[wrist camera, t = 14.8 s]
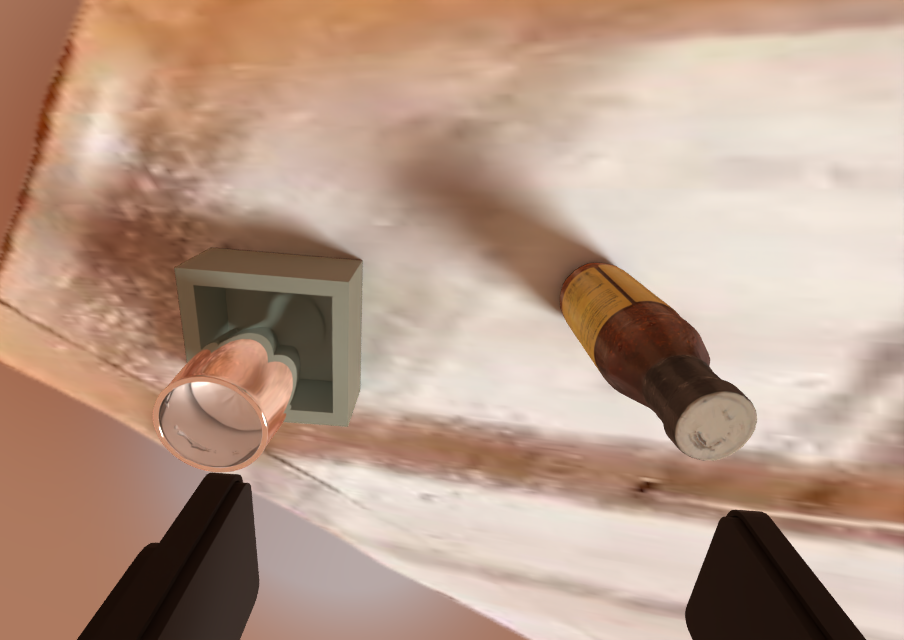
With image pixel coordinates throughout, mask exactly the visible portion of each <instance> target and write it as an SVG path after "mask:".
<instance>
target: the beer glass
mask: <svg viewBox="0 0 904 640" xmlns="http://www.w3.org/2000/svg"><path fill="white" fill-rule="evenodd" d="M324 334H325V324H324V320H323V317H322V315H321V313H320V311H319V310H318V308H317V307H316V306H315V305H314V304H313V303H312V302H311V301H310V300H308V299H307V298H305V297H303V296H301V295H298V294H295V293H283V292H280V293H275V294H272V295H269V296H268V297H266V298H264V299H263V300H262V301H261V302H260V303H259V304H258V305H257V307H256V309H255V310H254V312H253V314H252V317H251V319H250V320H249V321H247V322H246V323H244V324H242V325H240V326H238V327H236V328H234V329H232V330H230V331H228V332H226V333H224V334H223V335H221V336H219V337H218V338H216V339H215V340H213V341H211V342H210V343H209V344H207V345H206V346H205V347H204V348H203V349H201V350H200V351H199V352H198V353H197V354H196V355H195V356H194V357H193V358H192V359H191V360H190V361H189V362H188V363H187V364H186V365H185V366H184V367H183V368H182V369H181V371H180V372H179V373H178V374H177V375H176V376H175V378H174V379H173V380H172V381H171V383H170V384H169V385H168V386H167V387H166V388H165V389H164V390H163V391H162V392H161V393H160V394H159V396H158V398H157V400H156V402H155V404H154V408H153V423H154V428H155V431H156V433H157V435H158V437H159V439H160V441H161V442H162V443H163V445H164V446H165V447H166V448H167V449H168V450H169V451H170V452H171V453H172V454H173V455H174V456H175V457H177V458H178V459H179V460H181V461H183V462H184V463H186V464H188V465H190V466H193V467H195V468H198V469H201V470H205V471H211V472H230V471H235V470H239V469H242V468H244V467H246V466H248V465H250V464H251V463H253V462H254V461H255V460H256V459H257V458H258V457H259V456H260V455H261V454H262V452H263V451H264V449H265V447H266V445H267V444H268V443H269V441H270V440H271V439H272V437H273V436H274V435H275V433H276V432H277V430H278V429H279V428H280V426H281V424H282V423H283V421H284V420H285V418H286V416H287V415H288V413H289V411H290V409H291V407H292V405H293V403H294V401H295V398H296V395H297V392H298V389H299V386H300V382H301V378H302V373H303V369H304V364H305V360H306V358H307V357H309V356H310V355H311V354H312V353H313V352H314V351H316V350H317V348H318V347H319V346H320V344H321V343H322V341H323V338H324Z"/></svg>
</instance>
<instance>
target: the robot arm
mask: <svg viewBox="0 0 904 640" xmlns="http://www.w3.org/2000/svg"><path fill="white" fill-rule="evenodd" d="M258 573H259V572H258V561H257V549H256V538H255V526H254V515H253V504H252V491H251V485H250V484H249V483H243V480H242V477H241V475H238V474H223V473H209V474H207V475H206V476H205V478H204V479H203V480H202V482H201V483H200V485H199V486H198V487H197V489H196V490H195V492H194V493H193V495H192V496H191V498H190V499H189V501H188V502H187V503H186V505H185V506H184V508H183V509H182V511H181V512H180V514H179V515H178V517H177V518H176V519H175V521H174V522H173V524H172V525H171V527H170V528H169V530H168V531H167V532H166V534H165V535H164V537H163V538H162V540H161V541H160V543H150V544H149V545H147V546H146V547H144V549H143V550H142V551H141V552H140V553H139V554H138V555H137V557H136V558H135V559H134V561H133V562H132V564H131V565H130V566H129V568H128V569H127V571H126V572H125V573H124V575H123V576H122V578H121V579H120V580H119V582H118V583H117V585H116V586H115V587H114V589H113V590H112V591H111V593H110V594H109V596H108V597H107V599H106V600H105V601H104V603H103V604H102V605H101V607H100V608H99V610H98V611H97V612H96V614H95V615H94V617H93V618H92V619H91V621H90V622H89V623H88V625H87V626H86V628H85V629H84V631H83V632H82V633H81V635H80V636H79V637H78V639H77V640H240V638H241V636H242V633H243V631H244V628H245V626H246V623H247V621H248V618H249V616H250V614H251V611H252V609H253V606H254V604H255V601H256V598H257V594H258V589H259V574H258ZM685 618H686V624H687V628H688V630H689V633H690V635H691V637H692V639H693V640H866V639H865V638H864V636H863V635H862V634H861V632H860V631H859V630H858V629H857V627H856V626H855V625H854V624H853V622H852V621H851V620H850V618H849V617H848V616H847V615H846V613H845V612H844V611H843V610H842V608H841V607H840V606H839V604H838V603H837V602H836V601H835V599H834V598H833V597H832V596H831V594H830V593H829V592H828V590H827V589H826V588H825V587H824V585H823V584H822V583H821V582H820V580H819V579H818V578H817V576H816V575H815V574H814V573H813V571H812V570H811V569H810V568H809V566H808V565H807V564H806V562H805V561H804V560H803V559H802V557H801V556H800V555H799V554H798V552H797V551H796V550H795V549H794V547H793V546H792V545H791V543H790V542H789V541H788V540H787V538H786V537H785V536H784V535H783V533H782V532H781V531H780V529H779V528H778V527H777V526H776V524H775V523H774V522H773V521H772V519H771V518H770V517H769V516H768V515H767V514H766V513H763V512H759V511H745V510H731V511H730V512H729V513H728V514H727V516H726V517H722V518H721V519H720V521H719V523H718V526H717V528H716V531H715V533H714V536H713V539H712V541H711V544H710V547H709V549H708V552H707V554H706V557H705V560H704V562H703V565H702V568H701V570H700V573H699V575H698V578H697V581H696V583H695V586H694V589H693V591H692V594H691V596H690V599H689V602H688V604H687V607H686V611H685Z"/></svg>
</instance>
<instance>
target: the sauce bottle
mask: <svg viewBox="0 0 904 640" xmlns="http://www.w3.org/2000/svg"><path fill="white" fill-rule="evenodd" d="M560 308H561V310H562V313H563V315H564V318H565V320H566V322H567V324H568V325H569V327H570V328H571V330H572V331H573V333H574V334H575V336H576V337H577V339H578V340H579V342H580V343H581V344H582V346H583V347H584V349H585V350H586V352H587V353H588V355H589V356H590V358H591V359H592V361H593V362H594V364H595V365H596V367H597V368H598V370H599V371H600V373H601V374H602V376H603V377H604V378H605V380H606V381H607V382H608V383H609V384H610V385H611V386H612V387H613V388H614V389H615V390H617V391H618V392H620V393H621V394H623V395H625V396H627V397H629V398H631V399H633V400H635V401H637V402H639V403H641V404H643V405H645V406H647V407H648V408H650V409H652V410H653V411H654V412H655V413H656V415H657V416H658V418H660V419H661V421H662V422H663V424H664V429H665V432H666V434H667V436H668V437H669V438H670V439H671V440H672V442H673V443H674V444H675V445H676V446H677V448H678V449H679V450H681V451H682V452H683V453H684V454H686V455H688V456H690V457H692V458H695V459H699V460H703V461H706V460H711V461H714V460H719V459H723V458H725V457H728V456H730V455H731V454H733V453H735V452H736V451H737V450H739V449H740V448H741V447H743V446H744V444H745V443H746V442H747V441H748V440H749V438H750V437H751V435H752V434H753V432H754V430H755V427H756V423H757V414H756V410H755V408H754V406H753V404H752V402H751V401H750V400H749V399H748V398H747V397H746V396H745V395H744V394H743V393H742V392H741V391H740V390H739V389H738V388H737V387H736V386H734V385H733V384H731V383H729V382H727V381H724V380H721V379H720V378H719V377H718V376H717V375H716V374H715V373H714V372H713V371H712V370H711V368H710V367H709V365H710V357H709V354H708V352H707V350H706V347H705V345H704V343H703V341H702V339H701V337H700V335H699V333H698V332H697V331H696V330H695V328H694V327H692V326H691V325H690V324H689V323H687V321H686V320H684V319H683V318H681V317H680V316H679V314H678V313H677V312H676V311H675V310H674V309H672V308H671V307H670V306H669V305H667V304H666V303H665V302H664V301H662V300H661V299H660V298H658V297H657V296H656V295H654V294H653V293H652V292H651V291H649V290H648V289H647V288H645V287H644V286H643V285H642V284H641V283H639V282H638V281H637V280H635V279H634V278H633V277H632V276H630V275H629V274H628V273H626V272H625V271H624V270H622V269H620V268H618V267H617V266H613V265H609V264H606V263H590V264H586V265H583V266H581V267H579V268H578V269H576V270H575V271H574V272H573V273H572V274H571V275H570V276H569V277H568V278H567V279H566V280H565V282H564V284H563V287H562V289H561V294H560Z"/></svg>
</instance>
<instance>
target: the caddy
mask: <svg viewBox="0 0 904 640" xmlns="http://www.w3.org/2000/svg"><path fill="white" fill-rule="evenodd" d="M362 264H363V260H352V259H340V258H328V257H316V256H305V255H293V254H281V253H269V252H257V251H245V250H233V249H222V248H210V249H208V250H206V251H204V252H202V253H200V254H199V255H197V256H195V257H193V258H191V259H189V260H188V261H186V262H184V263H182V264H180V265H178V266H177V267H175V268H174V270H175V277H176V285H177V292H178V300H179V307H180V315H181V322H182V330H183V338H184V345H185V353H186V360H187V363H188V362H189V361H190V360H191V359H192V358H193V357H194V356H195V355H196V354H197V353H198V352H199V351H200V350H201V349H203V348H204V347H205V346H206V345H207V344H209V343H210V342H211V341H213V340H215V339H216V338H218V337H219V336H221V335H223V334H224V333H226V332H228V331H230V330H232V329H234V328H236V327H238V326H240V325H242V324H244V323H246V322H247V321H249V320H250V319H251V317H252V314H253V312H254V310H255V309H256V307H257V305H258V304H259V303H260V302H261V301H262V300H263V299H264V298H266V297H268V296H269V295H272V294H275V293H280V292H283V293H295V294H298V295H301V296H303V297H305V298H307V299H308V300H310V301H311V302H312V303H313V304H314V305H315V306H316V307H317V308H318V310H319V311H320V313H321V315H322V317H323V320H324V324H325V334H324V338H323V341H322V343H321V344H320V346H319V347H318V348H317V350H316V351H314V352H313V353H312V354H311V355H310V356H309V357H307V358H306V360H305V364H304V369H303V373H302V378H301V382H300V386H299V389H298V392H297V395H296V398H295V401H294V403H293V405H292V407H291V409H290V411H289V413H288V415H287V416H286V418H285V420H284V421H283V422H291V423H304V424H318V425H331V426H345V427H348V425H349V422H350V419H351V416H352V413H353V410H354V407H355V404H356V401H357V398H358V395H359V392H360V376H361V320H362Z"/></svg>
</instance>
